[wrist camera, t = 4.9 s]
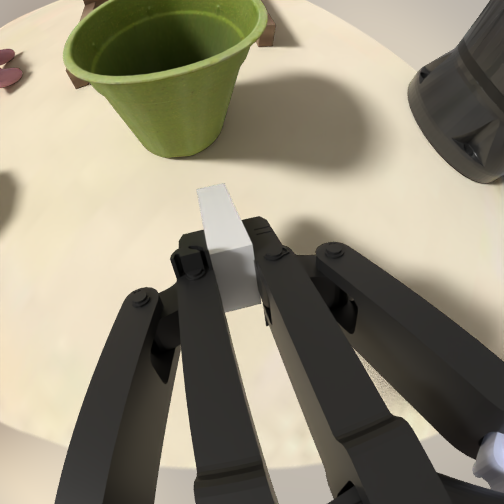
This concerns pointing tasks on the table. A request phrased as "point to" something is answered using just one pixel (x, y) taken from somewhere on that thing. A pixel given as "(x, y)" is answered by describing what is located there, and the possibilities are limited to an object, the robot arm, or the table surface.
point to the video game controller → (11, 74)
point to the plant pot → (166, 65)
